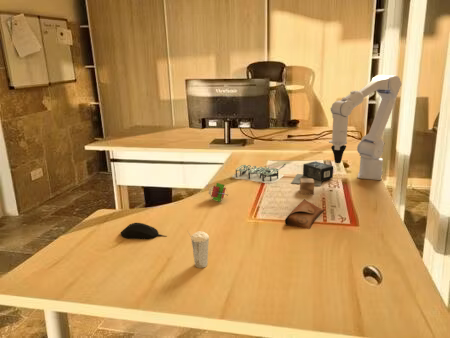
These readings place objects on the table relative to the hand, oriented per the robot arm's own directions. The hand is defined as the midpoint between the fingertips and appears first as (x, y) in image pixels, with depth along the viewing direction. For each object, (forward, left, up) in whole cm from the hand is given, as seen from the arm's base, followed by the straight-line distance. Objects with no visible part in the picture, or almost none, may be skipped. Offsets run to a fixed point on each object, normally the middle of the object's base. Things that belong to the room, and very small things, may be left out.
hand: (337, 162), depth 158 cm
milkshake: (+27, +79, -9) cm, 84 cm away
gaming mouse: (+51, +69, -9) cm, 86 cm away
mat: (+12, 0, -9) cm, 15 cm away
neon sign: (+34, -6, -10) cm, 35 cm away
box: (+4, -1, -6) cm, 7 cm away
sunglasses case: (+6, +40, -10) cm, 41 cm away
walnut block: (+10, +15, -9) cm, 20 cm away
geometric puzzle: (+40, +34, -9) cm, 53 cm away
